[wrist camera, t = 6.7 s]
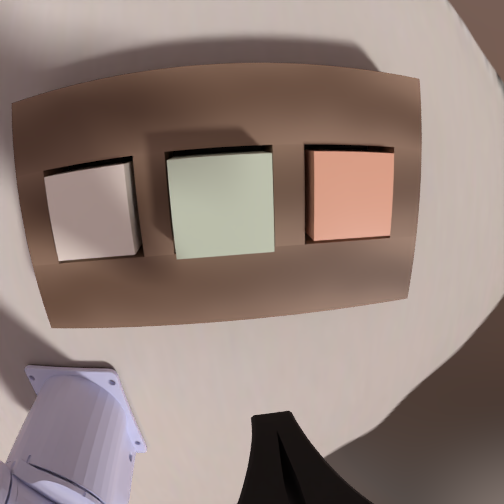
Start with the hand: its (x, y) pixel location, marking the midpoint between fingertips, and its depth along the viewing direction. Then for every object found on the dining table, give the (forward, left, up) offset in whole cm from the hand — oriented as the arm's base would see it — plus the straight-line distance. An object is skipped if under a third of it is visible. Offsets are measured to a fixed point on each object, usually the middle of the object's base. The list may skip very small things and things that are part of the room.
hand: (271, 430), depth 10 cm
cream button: (+7, +7, -9) cm, 13 cm away
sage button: (+7, +1, -8) cm, 11 cm away
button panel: (+7, +1, -9) cm, 12 cm away
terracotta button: (+7, -5, -9) cm, 12 cm away
